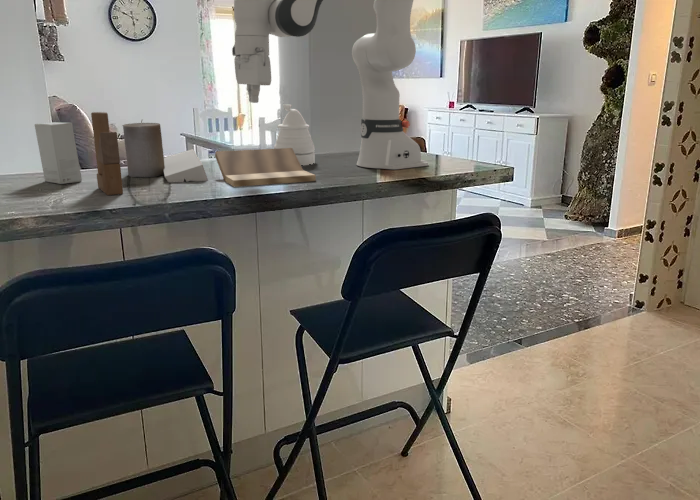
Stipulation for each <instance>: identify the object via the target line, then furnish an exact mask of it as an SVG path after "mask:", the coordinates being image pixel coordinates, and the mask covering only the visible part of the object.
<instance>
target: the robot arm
mask: <svg viewBox="0 0 700 500" xmlns="http://www.w3.org/2000/svg"><path fill="white" fill-rule="evenodd" d="M323 1H324V0H233V17H234V18H233V19H234V22H235V31H234V45H233V47H231V51H232V52H231V53H232V56H233V57H234V72H235V80H236V83H237V85H238V84H239V85H246V90H247V94H248V102H249V103H252V104H258V103H259V96H260V91H261V86H271V84H272V67H271V66H272V65H271V60H270V59H271V58H270V35H271V36H272V35H273V36H275V37H277V38H278V37H279V38H285V37H286V38H288V37H295V38H298V37H299V38H300V37H301V38H302V37H304V36H306V35H308V34H309V33H310V32H311V31H312V30H313V29H314V27H315V26H316V22H317V20H318V14H319V10H320V7H321V5H322V3H323ZM413 3H414V0H374V1H373V6H372V7H373V11H374V13H375V15H376V30H375V32H373V33H370V32H369V33H366V34H365V35H363V36H361V37H359V38H358V39H356V41H355V42H354V43H353V46H352V48H351V57H352V60H353V62H354V64H355V65H356V68H357V70H358V73H359V80H360V84H361V90H362V118H361V120H360V121H361V122H360V136H361V141H360V148H359V154H358V158H357V162H356V166H358V167H361V168H369V169H385V170H400V169H402V170H403V169H410V168H420V167H427V166H429V162H428V161H426V160H424V159H422V151H421V148H420V145H419V144H418V143H417V142H416V141H415V140H414V139H412V137H410V136H409V135H408V134H407V133H406V132H404V128H408V129H409V127H410V126H411V123H410V121H408V120H403V121H402V120H401V119H400V91H399V89H398V88H397V86H396V84H395V81H394V76H393V72H397V71H400V70H402V69H405V68H407V67H408V66H410V65H411V64H412V63H413V61H414V59H415V57H416V49H417V48H416V44H415V41H414V39H413V37H412V35H411V15H412V10H413V9H412V8H413Z"/></svg>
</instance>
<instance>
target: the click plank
mask: <svg viewBox="0 0 700 500" xmlns="http://www.w3.org/2000/svg"><path fill="white" fill-rule="evenodd" d="M214 157H215V160H216V162H217V164H218V167H219V171H220V172H221V176H222V179H223V181H226V180H225V176H227V175H242V174H258V173H273V172H289V171H304V169H303V166H301V165H300V163H299V161H298V159H297V157H296V155H295V153H294V151H293V149H292V148H280V149H274V148H264V149H261V148H259V149H241V150H220V151H218V150H217V151H215V154H214Z"/></svg>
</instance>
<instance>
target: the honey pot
mask: <svg viewBox="0 0 700 500" xmlns="http://www.w3.org/2000/svg"><path fill="white" fill-rule="evenodd" d="M282 105H283V110H285V111H286V112H287V113H286V114H285V117H284V118H283V120H282V123H281V124H279V123H278V125H277V128H278V129H279V131H278V134H277V136H276V140H275V143H274V146H273V147H274V148H273V149H280V148H292V149H293V151H294V153H295V155H296V157H297V159H298V161H299V163H300V165H303V166H310V165H309V164H311V165H314V164H315V163H316V161H315V160H316V159H315V158H316V154H315V151H316V150H315V144H314V142H313V138H312V135H311V132H310V131H309V129H310V124H307V122H306V120H305V119H304V117H303V115H302V113H301V112H300V111H299V110H298V109H297V108H292V104H282ZM313 163H314V164H313Z"/></svg>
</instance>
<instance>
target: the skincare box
mask: <svg viewBox="0 0 700 500" xmlns="http://www.w3.org/2000/svg"><path fill="white" fill-rule="evenodd" d="M34 129H35V134H36V140H37V145H38V150H39V151H38V153H39V156H40V162H41V168H42V172H43V178H44V182H47V183H51V184H52V183H54V184H58V185H65V184H71V183H72V184H73V183H81V182H83V181H82V180H83V178H82V173H81V167H80V161H79V156H78V150H77V145H76V138H75V132H74V127H73V122H57V121H53V122H41V123H35V124H34Z"/></svg>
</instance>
